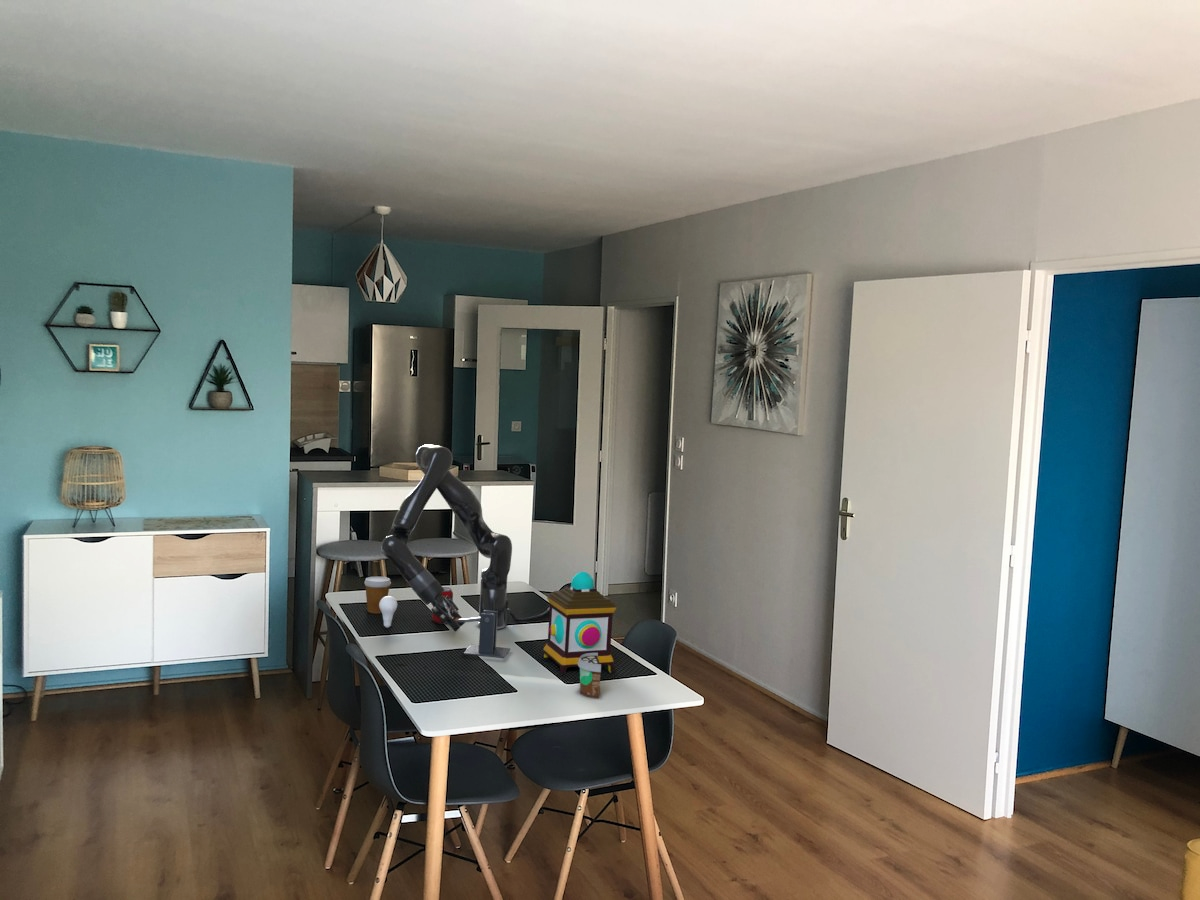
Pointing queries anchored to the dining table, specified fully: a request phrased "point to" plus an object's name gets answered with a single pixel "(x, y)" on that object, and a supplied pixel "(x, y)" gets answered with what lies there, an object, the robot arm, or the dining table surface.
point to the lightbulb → (388, 609)
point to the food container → (589, 675)
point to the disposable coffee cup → (376, 592)
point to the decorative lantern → (579, 624)
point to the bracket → (487, 638)
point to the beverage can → (445, 593)
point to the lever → (468, 619)
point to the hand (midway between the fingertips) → (460, 626)
